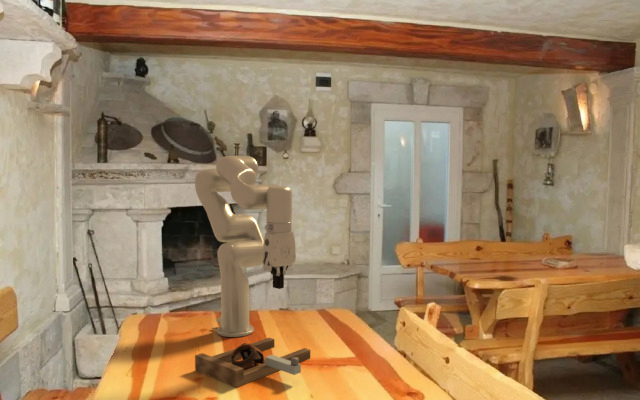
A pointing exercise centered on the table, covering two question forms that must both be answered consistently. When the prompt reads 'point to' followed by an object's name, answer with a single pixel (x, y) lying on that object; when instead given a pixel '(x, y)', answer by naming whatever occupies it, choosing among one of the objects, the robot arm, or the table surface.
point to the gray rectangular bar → (284, 364)
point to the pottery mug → (247, 356)
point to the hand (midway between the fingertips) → (278, 287)
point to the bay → (236, 375)
